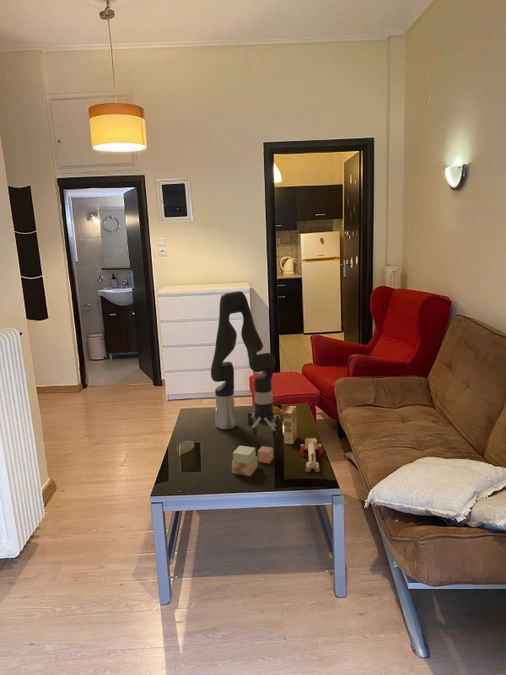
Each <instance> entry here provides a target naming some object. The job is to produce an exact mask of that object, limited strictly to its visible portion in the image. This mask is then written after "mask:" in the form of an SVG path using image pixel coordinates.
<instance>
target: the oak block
mask: <svg viewBox="0 0 506 675" xmlns="http://www.w3.org/2000/svg"><path fill="white" fill-rule="evenodd" d="M257 469H258V455H256V457H255V458H254V459H253V460H252V462H251V463H250V464H244V463H238V462H233V460H232V461H231V473H232V474H235V475H242V476H247V477H248V476H249V477H251V476H252V475H253V474H254V472H255V471H256V470H257Z"/></svg>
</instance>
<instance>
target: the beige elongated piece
mask: <svg viewBox="0 0 506 675" xmlns="http://www.w3.org/2000/svg"><path fill="white" fill-rule="evenodd" d="M299 445H300V449H299V453H300V455H303V456H304V457H305V456H306V455H305V453H304V451H305V450H306V451H307V452H308V461H306V464H305V467H306V468H305V472H306V473H310V472H312V470H314V472H316V473H319V472H321V467H320V463H319V462H317V460H316V450H318V452H319V453H318V455H317V457H318V456H321V455H322V454H323V453H324V449H323V448H322V446H323V445H322V444H321V443H318V441H317V438H315V437H313V438H312V437H310V438H309V437H306V438H305V439H304V443H301V444H299Z"/></svg>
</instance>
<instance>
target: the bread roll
mask: <svg viewBox="0 0 506 675" xmlns="http://www.w3.org/2000/svg"><path fill="white" fill-rule="evenodd" d="M284 411H285V410H283V409H280V408H279V407H278V406H276V405H273V414H274V415H278V414H280V415H281V422H283V421H284ZM273 420H274V422H275V423H276V420H275V418H273Z"/></svg>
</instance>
